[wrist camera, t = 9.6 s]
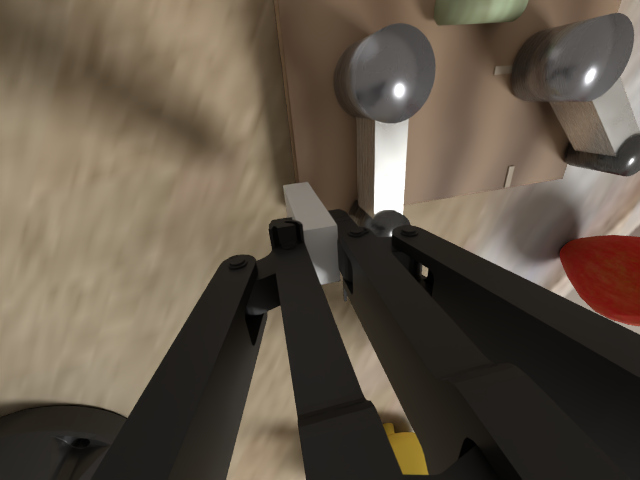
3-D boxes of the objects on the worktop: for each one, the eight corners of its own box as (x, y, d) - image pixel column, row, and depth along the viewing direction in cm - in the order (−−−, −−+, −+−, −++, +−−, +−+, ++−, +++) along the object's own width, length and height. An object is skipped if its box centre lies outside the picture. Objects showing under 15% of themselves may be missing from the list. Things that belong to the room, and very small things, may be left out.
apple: (555, 289, 36) (665, 356, 26) (522, 264, 32) (636, 331, 23) (609, 235, 34) (751, 288, 24) (580, 202, 30) (733, 249, 21)
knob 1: (331, 41, 16) (354, 25, 13) (400, 37, 17) (440, 21, 14) (340, 234, 22) (358, 259, 19) (392, 225, 23) (418, 248, 19)
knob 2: (500, 70, 19) (556, 64, 16) (551, 11, 18) (622, -9, 15) (565, 178, 25) (617, 191, 22) (607, 137, 24) (667, 144, 21)
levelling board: (299, 212, 23) (308, 231, 20) (272, -7, 17) (279, -33, 13) (542, 173, 27) (583, 183, 24) (597, -15, 21) (664, -37, 17)
